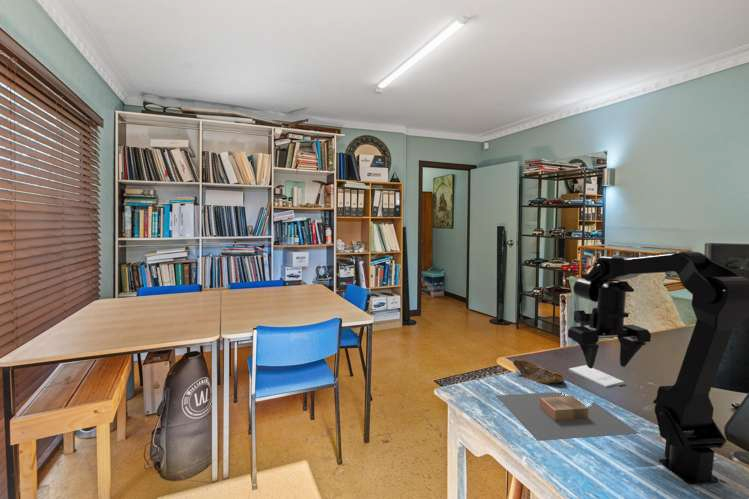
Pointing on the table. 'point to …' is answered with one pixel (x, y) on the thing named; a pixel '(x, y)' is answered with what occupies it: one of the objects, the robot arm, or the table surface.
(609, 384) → the external hard drive
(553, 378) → the decorative stone
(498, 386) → the table surface
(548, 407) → the walnut slab
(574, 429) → the rubber mat
